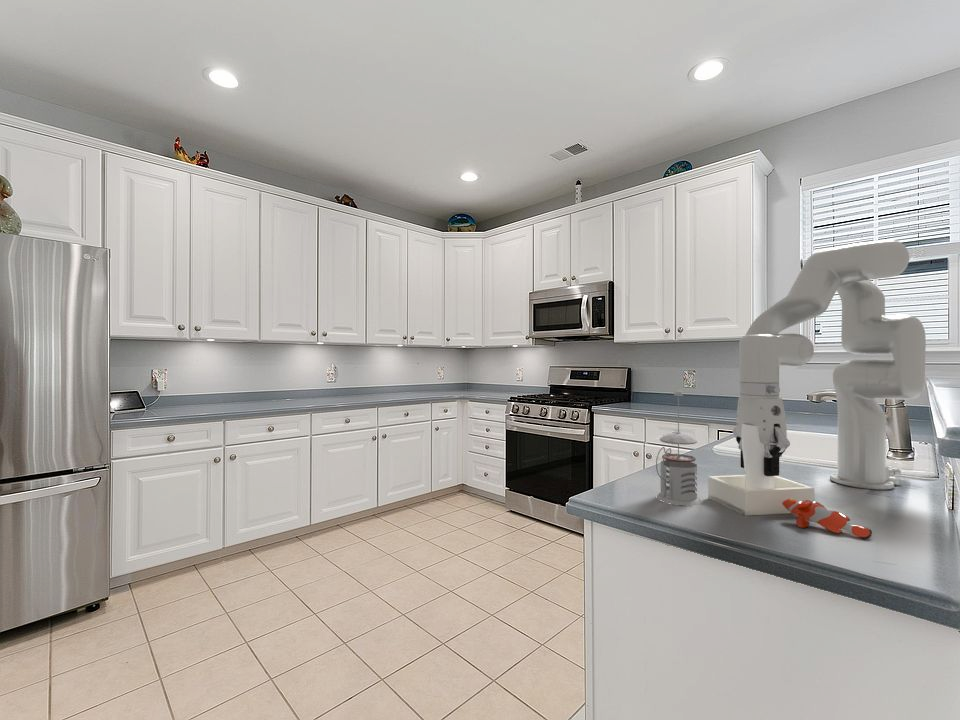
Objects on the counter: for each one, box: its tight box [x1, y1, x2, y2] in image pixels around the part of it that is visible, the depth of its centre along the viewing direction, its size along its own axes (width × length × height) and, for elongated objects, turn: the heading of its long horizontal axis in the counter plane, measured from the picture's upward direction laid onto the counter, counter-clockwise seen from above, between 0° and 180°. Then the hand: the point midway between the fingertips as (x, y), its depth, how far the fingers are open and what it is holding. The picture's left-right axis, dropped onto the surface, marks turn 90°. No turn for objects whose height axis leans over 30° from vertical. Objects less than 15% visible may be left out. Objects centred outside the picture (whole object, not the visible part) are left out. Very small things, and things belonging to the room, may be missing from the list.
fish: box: [782, 499, 873, 540], centre depth 87 cm, size 13×5×9 cm
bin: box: [707, 474, 815, 517], centre depth 101 cm, size 16×12×5 cm
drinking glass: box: [741, 423, 775, 490], centre depth 101 cm, size 7×7×15 cm
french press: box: [655, 390, 703, 507], centre depth 105 cm, size 10×12×25 cm
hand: (759, 470), depth 101 cm, fingers closed on drinking glass, 6 cm apart
